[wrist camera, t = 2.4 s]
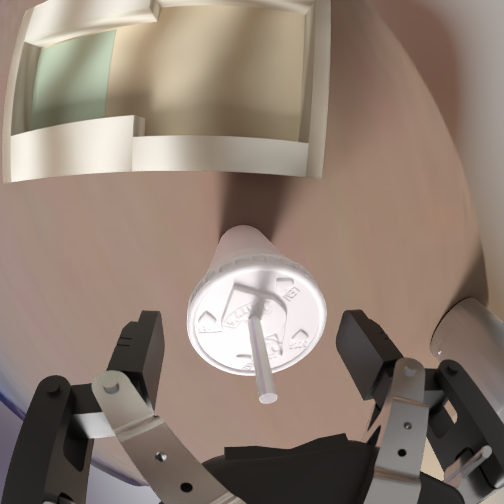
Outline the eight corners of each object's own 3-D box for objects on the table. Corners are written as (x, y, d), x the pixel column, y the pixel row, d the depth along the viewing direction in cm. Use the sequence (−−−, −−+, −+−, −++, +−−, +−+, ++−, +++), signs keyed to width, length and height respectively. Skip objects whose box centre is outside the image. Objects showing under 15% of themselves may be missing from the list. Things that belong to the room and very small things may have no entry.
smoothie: (264, 191, 19) (346, 291, 7) (297, 265, 22) (376, 409, 9) (184, 231, 20) (131, 377, 7) (224, 299, 22) (232, 461, 9)
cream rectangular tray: (313, 4, 14) (329, -17, 11) (304, 172, 19) (321, 178, 16) (47, 22, 11) (25, 10, 8) (30, 175, 17) (3, 183, 13)
